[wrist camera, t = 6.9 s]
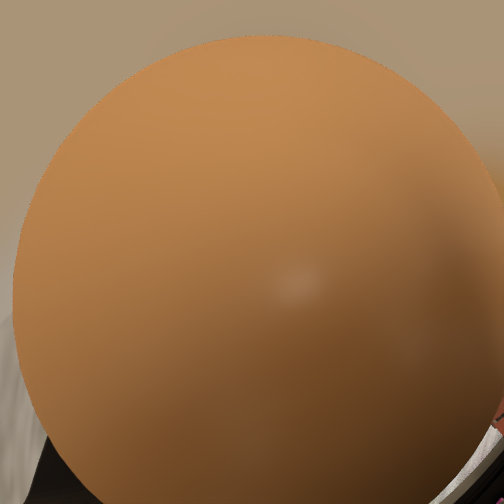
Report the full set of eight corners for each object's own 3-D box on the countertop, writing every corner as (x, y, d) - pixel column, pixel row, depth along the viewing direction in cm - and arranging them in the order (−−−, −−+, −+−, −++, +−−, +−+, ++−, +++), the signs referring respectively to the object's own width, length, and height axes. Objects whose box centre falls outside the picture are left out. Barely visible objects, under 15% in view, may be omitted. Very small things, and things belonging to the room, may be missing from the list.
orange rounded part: (274, 281, 16) (532, 202, 3) (231, 375, 14) (416, 558, 2) (181, 234, 15) (217, -19, 3) (133, 330, 14) (-50, 426, 1)
